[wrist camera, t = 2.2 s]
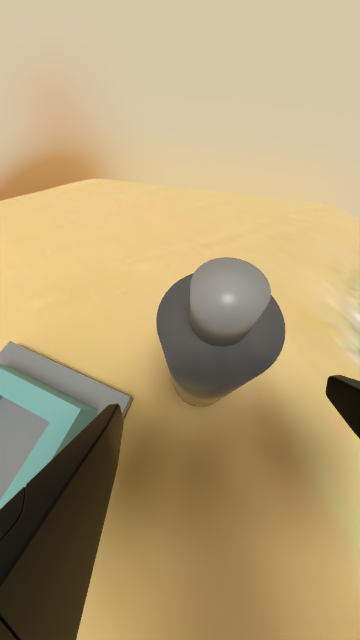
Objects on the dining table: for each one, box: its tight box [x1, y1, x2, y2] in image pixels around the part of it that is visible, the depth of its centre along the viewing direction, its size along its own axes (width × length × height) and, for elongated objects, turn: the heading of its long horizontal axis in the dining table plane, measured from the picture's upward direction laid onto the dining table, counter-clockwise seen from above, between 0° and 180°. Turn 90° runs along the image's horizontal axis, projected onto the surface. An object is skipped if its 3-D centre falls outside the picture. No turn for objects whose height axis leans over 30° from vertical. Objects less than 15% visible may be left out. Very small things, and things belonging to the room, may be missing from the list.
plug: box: [157, 258, 285, 406], centre depth 12 cm, size 5×5×14 cm
